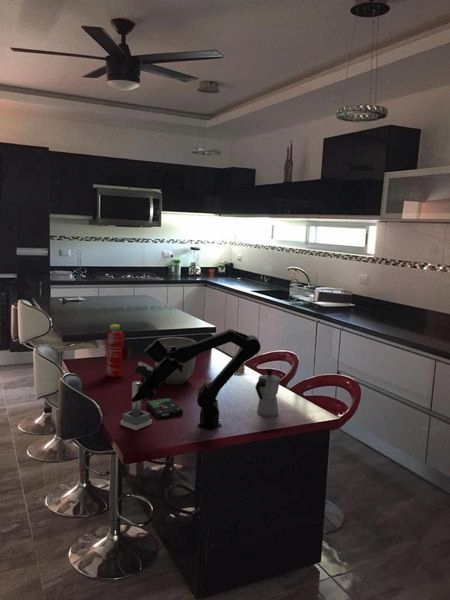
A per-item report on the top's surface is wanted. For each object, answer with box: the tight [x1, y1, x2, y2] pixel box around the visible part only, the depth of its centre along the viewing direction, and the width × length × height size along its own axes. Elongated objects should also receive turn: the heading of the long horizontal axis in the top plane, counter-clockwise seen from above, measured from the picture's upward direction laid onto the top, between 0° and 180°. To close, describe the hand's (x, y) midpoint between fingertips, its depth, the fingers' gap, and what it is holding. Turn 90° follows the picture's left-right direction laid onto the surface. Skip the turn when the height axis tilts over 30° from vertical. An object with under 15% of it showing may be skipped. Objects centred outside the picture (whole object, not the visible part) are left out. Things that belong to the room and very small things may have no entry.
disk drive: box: [146, 397, 184, 420], centre depth 202 cm, size 10×3×15 cm
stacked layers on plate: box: [235, 361, 246, 374], centre depth 259 cm, size 10×9×6 cm
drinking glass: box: [131, 380, 143, 417], centre depth 186 cm, size 3×3×13 cm
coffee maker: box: [255, 368, 281, 417], centre depth 202 cm, size 15×9×18 cm, turn 141°
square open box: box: [120, 410, 153, 431], centre depth 187 cm, size 8×8×4 cm
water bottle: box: [104, 323, 132, 378], centre depth 243 cm, size 12×8×25 cm, turn 116°
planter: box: [154, 336, 197, 386], centre depth 237 cm, size 20×20×19 cm
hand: (132, 399), depth 186 cm, fingers closed on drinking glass, 3 cm apart
